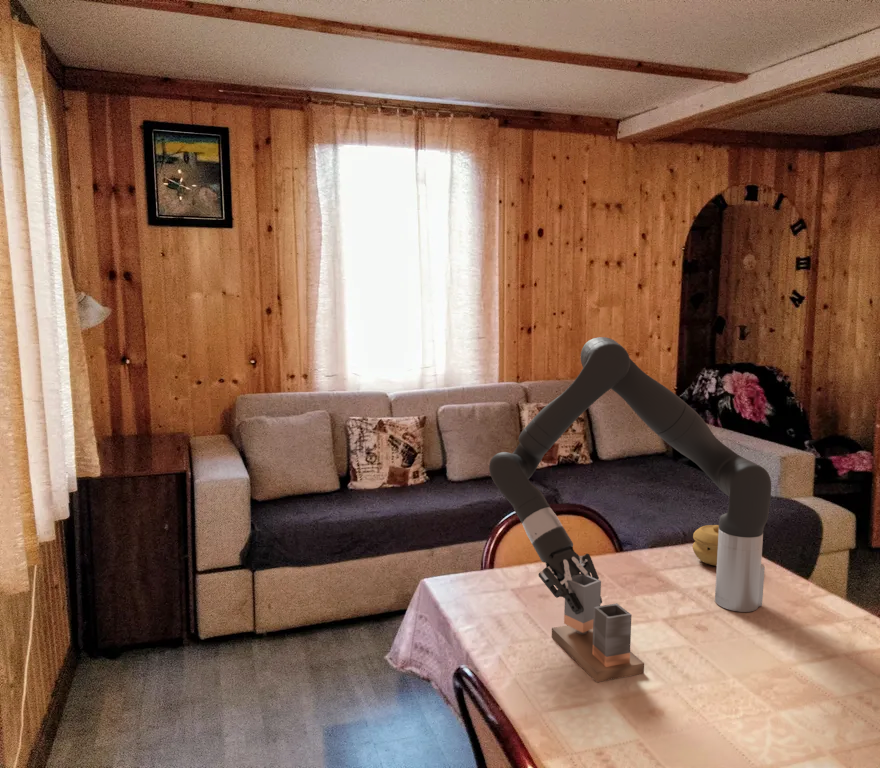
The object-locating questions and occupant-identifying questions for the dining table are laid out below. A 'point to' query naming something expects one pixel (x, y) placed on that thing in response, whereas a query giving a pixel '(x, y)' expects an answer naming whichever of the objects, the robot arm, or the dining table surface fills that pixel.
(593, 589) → the sleeve
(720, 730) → the dining table surface
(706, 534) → the pot
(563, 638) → the pin board
